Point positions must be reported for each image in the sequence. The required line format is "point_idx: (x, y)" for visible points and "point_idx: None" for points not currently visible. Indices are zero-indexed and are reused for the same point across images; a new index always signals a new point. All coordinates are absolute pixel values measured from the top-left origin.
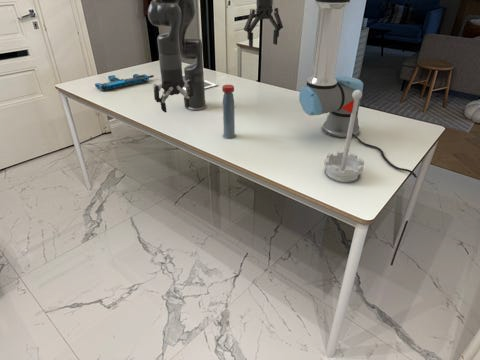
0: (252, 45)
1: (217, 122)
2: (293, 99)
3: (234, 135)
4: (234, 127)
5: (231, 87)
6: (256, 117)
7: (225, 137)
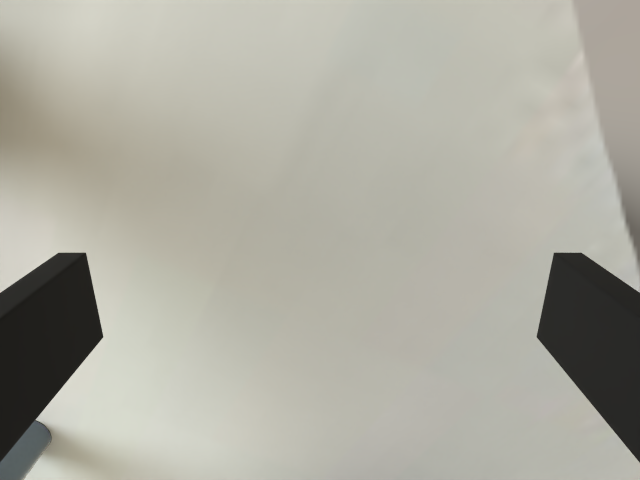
0: (83, 354)
1: None
2: (494, 214)
3: (45, 449)
4: (26, 475)
5: None
6: (192, 337)
7: None
